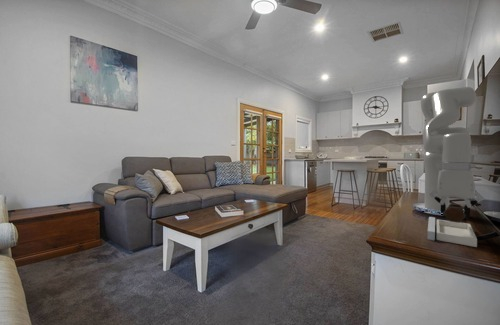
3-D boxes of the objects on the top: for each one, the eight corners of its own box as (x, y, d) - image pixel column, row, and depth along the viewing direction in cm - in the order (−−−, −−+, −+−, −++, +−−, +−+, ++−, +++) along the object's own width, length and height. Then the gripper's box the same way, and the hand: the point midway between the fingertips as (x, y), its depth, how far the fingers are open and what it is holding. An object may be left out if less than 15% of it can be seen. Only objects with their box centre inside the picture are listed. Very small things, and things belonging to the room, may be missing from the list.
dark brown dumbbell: (457, 218, 88) (457, 226, 77) (442, 209, 91) (440, 216, 80) (468, 206, 86) (469, 212, 75) (452, 198, 89) (451, 203, 78)
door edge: (428, 223, 96) (429, 216, 96) (434, 224, 95) (435, 217, 95) (427, 239, 80) (427, 230, 79) (434, 240, 78) (434, 232, 78)
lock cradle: (436, 225, 94) (436, 219, 94) (469, 230, 88) (470, 223, 87) (436, 239, 79) (436, 232, 79) (476, 247, 72) (477, 239, 72)
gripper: (487, 167, 80) (486, 218, 80) (426, 166, 90) (425, 210, 91) (491, 168, 74) (490, 223, 74) (425, 167, 85) (424, 214, 85)
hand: (454, 215), depth 83 cm, fingers closed on dark brown dumbbell, 5 cm apart
